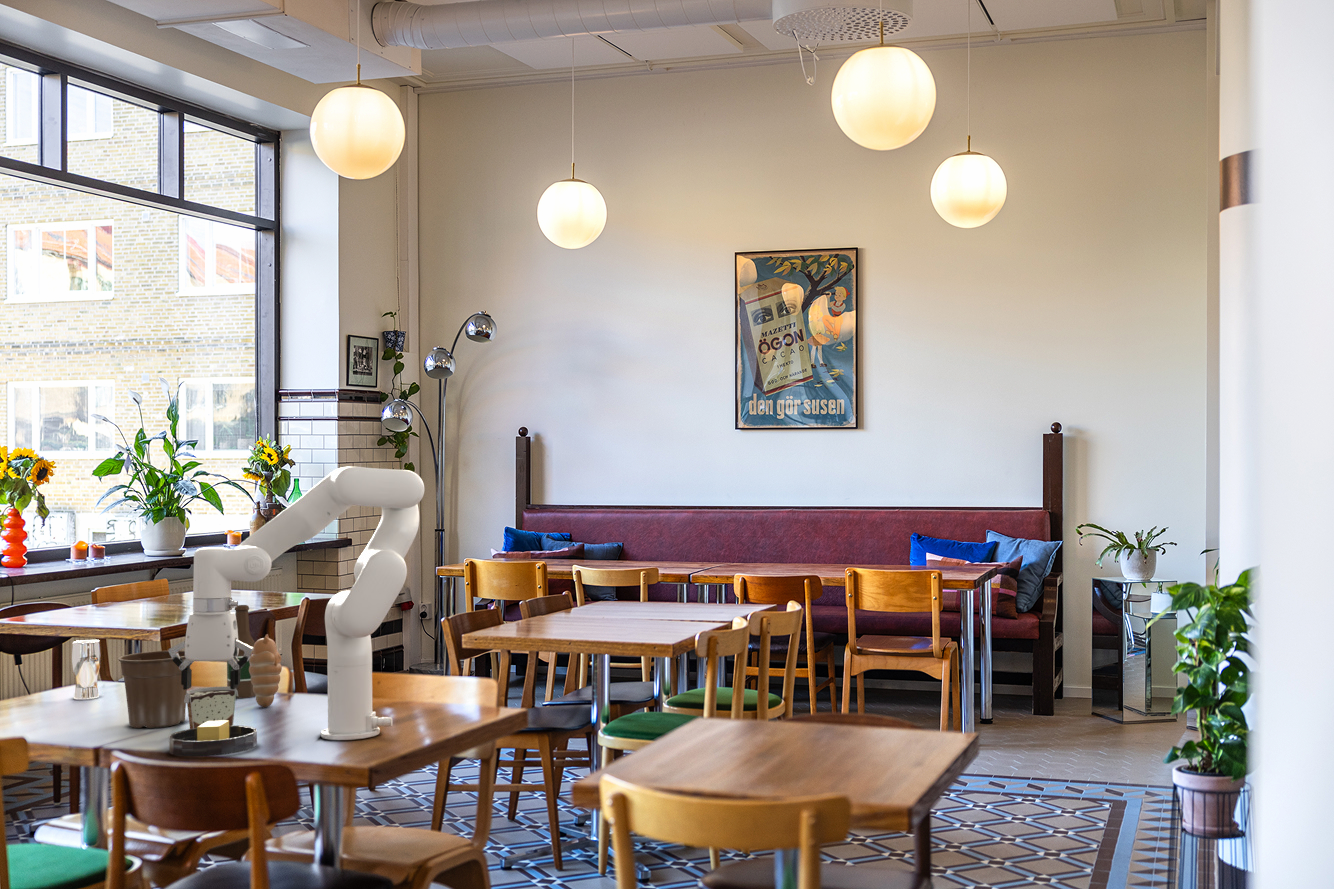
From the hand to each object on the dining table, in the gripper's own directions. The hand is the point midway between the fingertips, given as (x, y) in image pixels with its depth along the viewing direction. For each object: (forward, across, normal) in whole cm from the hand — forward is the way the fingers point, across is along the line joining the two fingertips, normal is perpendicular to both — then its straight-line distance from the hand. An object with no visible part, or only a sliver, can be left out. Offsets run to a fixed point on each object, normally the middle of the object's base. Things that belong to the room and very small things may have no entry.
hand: (210, 688), depth 266 cm
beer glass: (+13, +55, -76) cm, 95 cm away
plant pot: (+13, +22, -33) cm, 42 cm away
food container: (+13, +6, -18) cm, 23 cm away
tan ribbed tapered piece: (+13, +2, -53) cm, 55 cm away
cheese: (+12, -1, 0) cm, 12 cm away
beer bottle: (+13, +13, -72) cm, 75 cm away
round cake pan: (+13, -1, 0) cm, 13 cm away
